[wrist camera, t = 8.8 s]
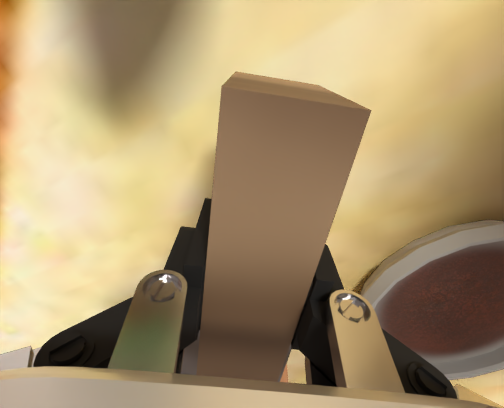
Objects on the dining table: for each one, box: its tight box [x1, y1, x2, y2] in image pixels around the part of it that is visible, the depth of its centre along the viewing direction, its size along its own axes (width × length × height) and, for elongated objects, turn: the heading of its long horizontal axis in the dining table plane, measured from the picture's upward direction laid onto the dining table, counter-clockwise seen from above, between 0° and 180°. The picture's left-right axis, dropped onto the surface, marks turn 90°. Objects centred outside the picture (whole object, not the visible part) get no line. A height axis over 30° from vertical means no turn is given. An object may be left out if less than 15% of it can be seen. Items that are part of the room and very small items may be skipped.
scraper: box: [181, 72, 371, 382], centre depth 12 cm, size 18×7×5 cm, turn 172°
